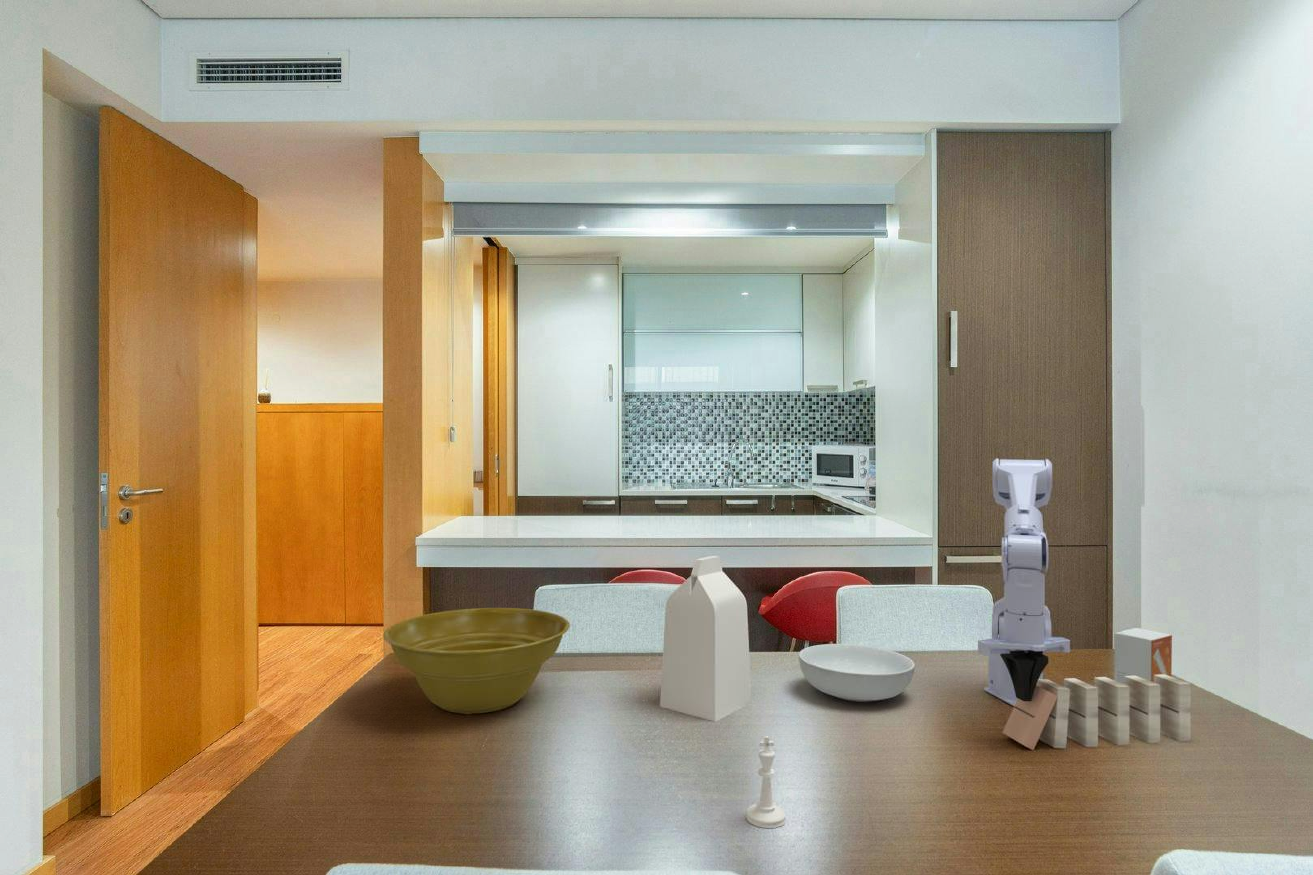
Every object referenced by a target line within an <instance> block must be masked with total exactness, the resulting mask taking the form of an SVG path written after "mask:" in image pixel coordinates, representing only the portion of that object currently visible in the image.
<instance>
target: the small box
mask: <svg viewBox="0 0 1313 875" xmlns="http://www.w3.org/2000/svg"><path fill="white" fill-rule="evenodd" d="M1113 643H1114V644H1113V645H1114V647H1113V648H1114V649H1113V651H1114V653H1113V654H1114V655H1113V657H1114V658H1113V669H1114V670H1113V672H1114V673H1113V676H1114V678H1113V680H1114V681H1117V682H1119V683H1122V684H1124V676H1137V677H1140V678H1143V679H1145V680H1148V681H1151V682H1153V683H1154V675H1160V674H1165V675H1168V676H1171V677H1172V671H1173V670H1172V668H1173V667H1172V662H1173V661H1172V659H1173V658H1172V655H1173V654H1172V652H1173V651H1172V649H1173V648H1172V647H1173V645H1172V644H1173V635H1172V634H1170V633H1165V632H1159V631H1155V630H1150V629H1145V628H1140V627H1133V628H1130V629H1124V630H1122V631H1118V632H1115V633H1114V642H1113Z"/></svg>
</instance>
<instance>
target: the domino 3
mask: <svg viewBox="0 0 1313 875" xmlns="http://www.w3.org/2000/svg"><path fill="white" fill-rule="evenodd" d="M1093 679H1094V680H1093V683H1094V684H1093V686H1094V687H1097V688H1098V737H1101V738H1103V739H1105V740H1107V741H1109V742H1111V743H1112V744H1114V745H1117V746H1128V745H1130V734H1129V686H1127V685H1124V684H1122V683H1119V682H1117V681H1114V679H1111V678H1109V677H1107V676H1098V677H1097V676H1096V677H1094V678H1093Z"/></svg>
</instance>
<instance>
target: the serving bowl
mask: <svg viewBox="0 0 1313 875" xmlns="http://www.w3.org/2000/svg"><path fill="white" fill-rule="evenodd" d="M798 660H799V661H798V662H799V666H800V670H801V673H802V675H803V676H804V678H805V680H806V681H807V682H808V684H809V683H810V685H811V686H812V687H814V688H815V689H817V690H818V691H820V692H822V693H825V694H826V695H829V696H832V697H836V698H838V699H840V700H845V701H848V702H849V701H850V702H858V703H863V702H865V703H868V702H874V701H881V700H886V699H891V698H894V697H896V696H898V695H900V694H901V693H903V692H904V691H905V690H906V689H907V688H908V687H909V685H911V684H910V683H911V681H913V676H914V674H915V668H916V665H915V662H914V660H912V659H911V658H910V657H907V655H904V654H901V653H899V652H896V651H893V650H889V649H885V648H879V647H876V646H869V645H863V644H861V645H860V644H852V643H850V644H849V643H826V644H817V645H812V646H808V647H806V648H803V649H801V650H800V651H799V653H798Z"/></svg>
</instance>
